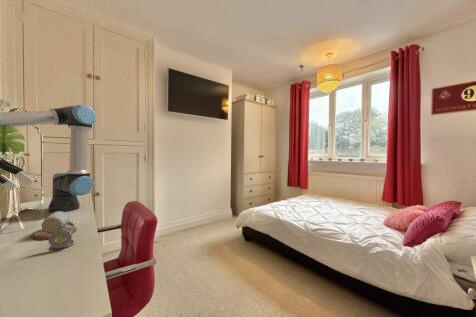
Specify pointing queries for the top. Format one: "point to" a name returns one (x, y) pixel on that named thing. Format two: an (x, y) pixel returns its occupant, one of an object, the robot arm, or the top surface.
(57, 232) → the pocket watch
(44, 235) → the brown round plate
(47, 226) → the ceramic mug
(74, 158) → the robot arm
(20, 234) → the top surface
